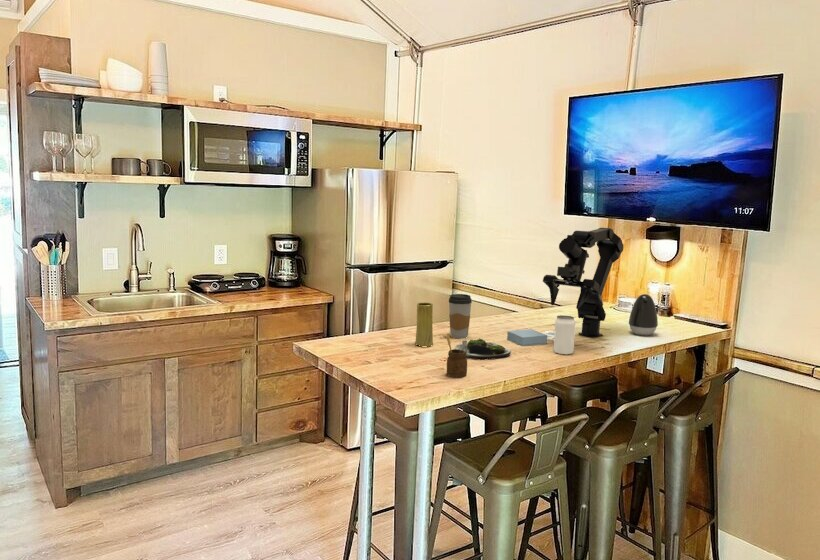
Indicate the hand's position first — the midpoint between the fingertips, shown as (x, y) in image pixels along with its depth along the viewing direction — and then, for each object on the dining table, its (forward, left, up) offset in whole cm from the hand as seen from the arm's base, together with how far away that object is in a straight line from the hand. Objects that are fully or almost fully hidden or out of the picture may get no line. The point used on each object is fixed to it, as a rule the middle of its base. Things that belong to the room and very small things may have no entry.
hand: (564, 306), depth 219 cm
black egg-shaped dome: (-40, +5, -14) cm, 43 cm away
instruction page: (-9, -13, -14) cm, 21 cm away
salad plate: (+29, -10, -15) cm, 34 cm away
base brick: (+5, -12, -14) cm, 19 cm away
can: (+6, +5, -14) cm, 16 cm away
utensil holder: (+52, +3, -14) cm, 54 cm away
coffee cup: (+20, -31, -14) cm, 39 cm away
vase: (+38, -29, -14) cm, 49 cm away
